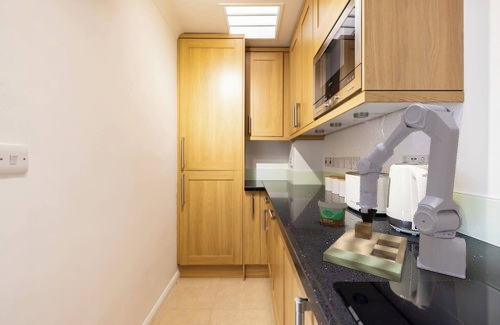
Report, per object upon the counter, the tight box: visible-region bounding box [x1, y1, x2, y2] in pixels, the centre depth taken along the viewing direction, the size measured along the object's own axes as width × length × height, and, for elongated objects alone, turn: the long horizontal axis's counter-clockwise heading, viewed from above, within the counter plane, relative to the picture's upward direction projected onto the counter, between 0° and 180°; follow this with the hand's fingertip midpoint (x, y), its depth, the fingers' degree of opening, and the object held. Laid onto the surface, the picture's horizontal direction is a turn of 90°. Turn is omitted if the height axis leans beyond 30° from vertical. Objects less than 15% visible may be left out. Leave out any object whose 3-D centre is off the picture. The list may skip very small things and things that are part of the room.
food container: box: [317, 199, 348, 228], centre depth 98 cm, size 12×6×10 cm, turn 62°
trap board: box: [322, 227, 408, 283], centre depth 71 cm, size 18×30×2 cm, turn 143°
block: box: [354, 220, 373, 240], centre depth 78 cm, size 4×4×4 cm
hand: (367, 228), depth 84 cm, fingers closed
